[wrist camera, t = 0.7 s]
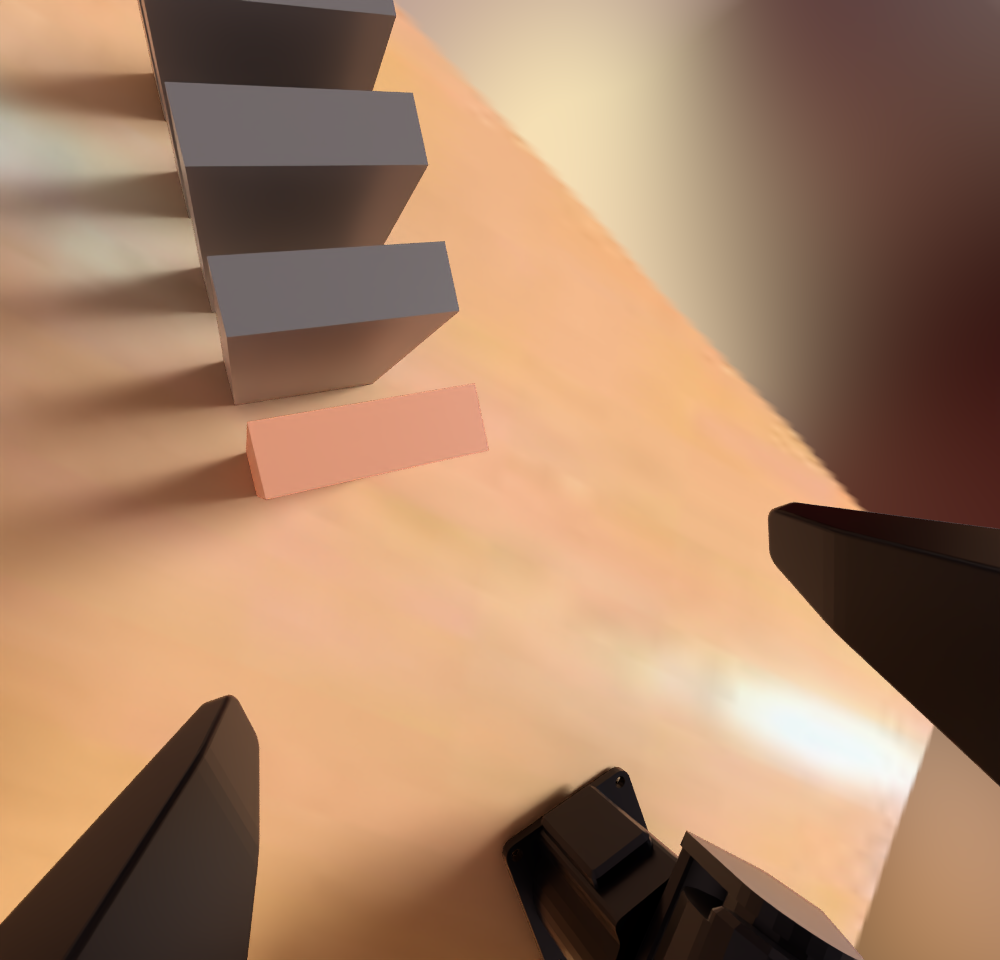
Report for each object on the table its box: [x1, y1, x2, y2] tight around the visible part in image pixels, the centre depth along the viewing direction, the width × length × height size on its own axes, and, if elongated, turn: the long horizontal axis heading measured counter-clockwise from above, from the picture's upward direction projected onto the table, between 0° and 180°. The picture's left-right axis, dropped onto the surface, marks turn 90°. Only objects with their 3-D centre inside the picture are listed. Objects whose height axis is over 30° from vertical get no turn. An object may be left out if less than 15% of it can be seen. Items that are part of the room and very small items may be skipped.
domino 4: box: [246, 383, 489, 500], centre depth 17 cm, size 2×5×10 cm, turn 103°
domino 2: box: [164, 82, 428, 313], centre depth 17 cm, size 2×5×10 cm, turn 103°
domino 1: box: [141, 0, 396, 218], centre depth 17 cm, size 2×5×10 cm, turn 103°
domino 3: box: [207, 241, 459, 405], centre depth 17 cm, size 2×5×10 cm, turn 103°
